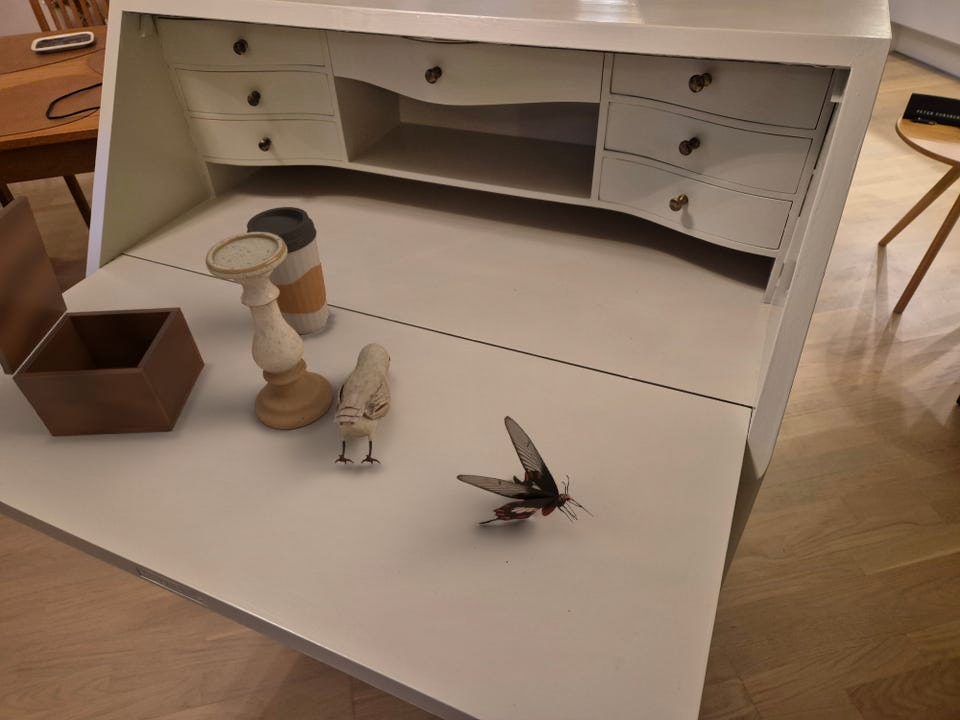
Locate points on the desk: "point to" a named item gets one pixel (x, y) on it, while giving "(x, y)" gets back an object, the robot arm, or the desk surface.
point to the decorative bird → (364, 398)
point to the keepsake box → (112, 372)
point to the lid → (24, 286)
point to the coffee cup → (296, 268)
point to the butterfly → (524, 482)
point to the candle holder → (271, 331)
